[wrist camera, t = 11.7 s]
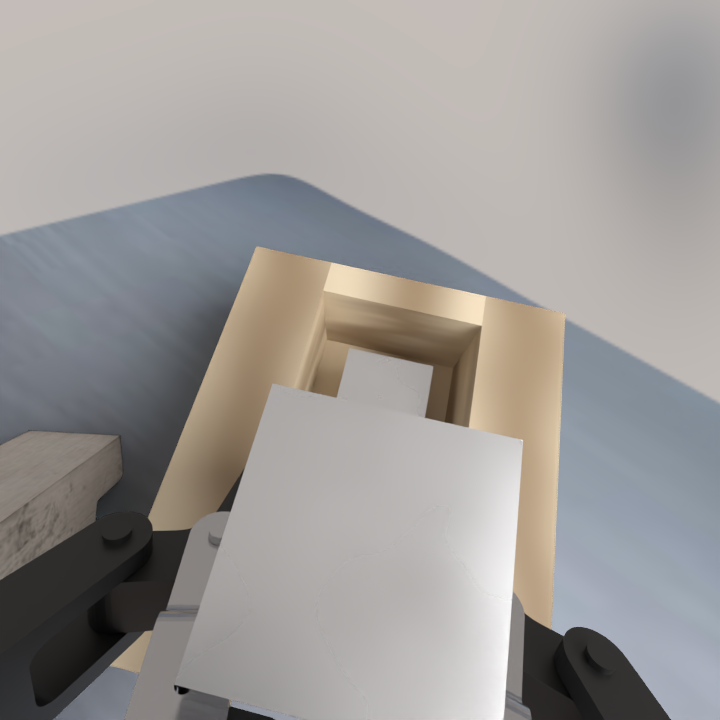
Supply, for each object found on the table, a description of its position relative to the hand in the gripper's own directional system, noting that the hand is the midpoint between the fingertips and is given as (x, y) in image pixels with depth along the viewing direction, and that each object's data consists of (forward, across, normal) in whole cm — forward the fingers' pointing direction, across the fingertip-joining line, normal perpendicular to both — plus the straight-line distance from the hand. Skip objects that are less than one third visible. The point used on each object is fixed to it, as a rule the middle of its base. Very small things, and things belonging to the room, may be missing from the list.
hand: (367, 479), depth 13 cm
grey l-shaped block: (+5, 0, +4) cm, 6 cm away
